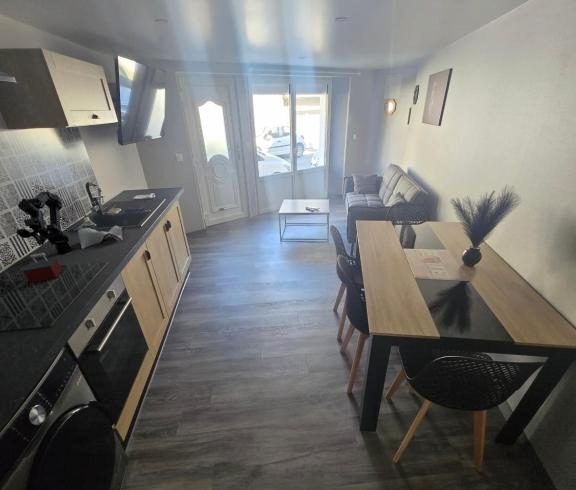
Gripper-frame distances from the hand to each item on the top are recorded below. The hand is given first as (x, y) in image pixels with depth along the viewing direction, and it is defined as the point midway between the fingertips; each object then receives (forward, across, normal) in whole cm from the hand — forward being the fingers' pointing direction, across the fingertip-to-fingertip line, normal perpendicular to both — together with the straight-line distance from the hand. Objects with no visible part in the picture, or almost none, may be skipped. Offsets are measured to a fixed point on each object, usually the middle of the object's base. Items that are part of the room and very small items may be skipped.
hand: (41, 245), depth 162 cm
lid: (+13, 0, -3) cm, 13 cm away
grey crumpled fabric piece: (-12, +22, +32) cm, 41 cm away
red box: (+18, 0, +1) cm, 18 cm away
